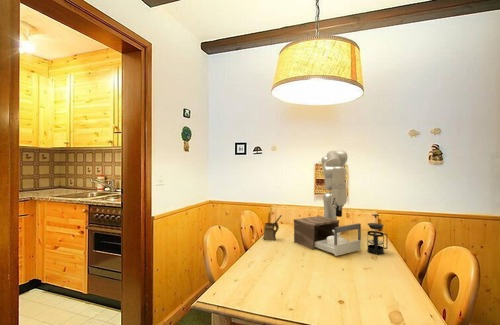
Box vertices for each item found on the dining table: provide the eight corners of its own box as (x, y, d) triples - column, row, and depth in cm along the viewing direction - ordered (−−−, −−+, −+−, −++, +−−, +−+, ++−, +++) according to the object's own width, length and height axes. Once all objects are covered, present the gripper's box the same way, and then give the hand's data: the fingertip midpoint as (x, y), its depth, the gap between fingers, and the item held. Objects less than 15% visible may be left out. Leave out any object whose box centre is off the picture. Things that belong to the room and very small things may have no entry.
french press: (366, 253, 159) (366, 215, 159) (365, 249, 168) (365, 212, 168) (388, 256, 155) (388, 216, 155) (386, 251, 164) (386, 213, 164)
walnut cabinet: (319, 237, 195) (319, 215, 195) (339, 243, 179) (339, 220, 179) (293, 242, 182) (293, 219, 182) (312, 249, 166) (312, 224, 167)
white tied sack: (346, 251, 163) (348, 233, 169) (344, 246, 158) (346, 228, 164) (326, 247, 169) (329, 231, 175) (324, 243, 164) (327, 226, 170)
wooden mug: (280, 242, 182) (280, 216, 183) (261, 240, 187) (261, 214, 187) (282, 238, 191) (282, 213, 191) (264, 237, 195) (264, 212, 195)
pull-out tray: (337, 242, 179) (337, 218, 179) (360, 249, 163) (360, 223, 163) (313, 247, 167) (313, 222, 168) (335, 255, 152) (335, 228, 152)
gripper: (339, 185, 172) (339, 214, 172) (326, 187, 162) (326, 217, 162) (350, 186, 167) (350, 215, 166) (338, 187, 156) (338, 219, 156)
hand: (338, 216), depth 164 cm, fingers closed
